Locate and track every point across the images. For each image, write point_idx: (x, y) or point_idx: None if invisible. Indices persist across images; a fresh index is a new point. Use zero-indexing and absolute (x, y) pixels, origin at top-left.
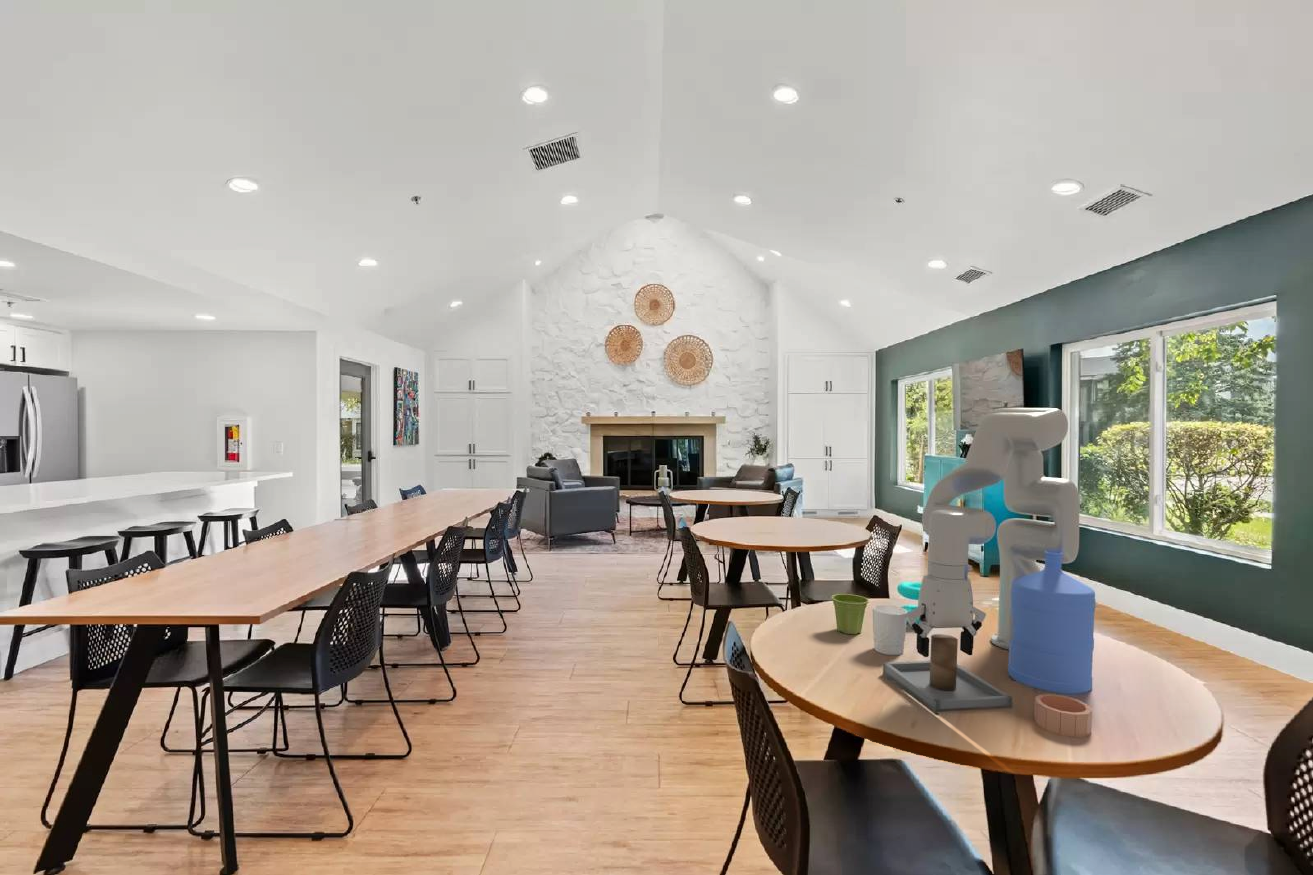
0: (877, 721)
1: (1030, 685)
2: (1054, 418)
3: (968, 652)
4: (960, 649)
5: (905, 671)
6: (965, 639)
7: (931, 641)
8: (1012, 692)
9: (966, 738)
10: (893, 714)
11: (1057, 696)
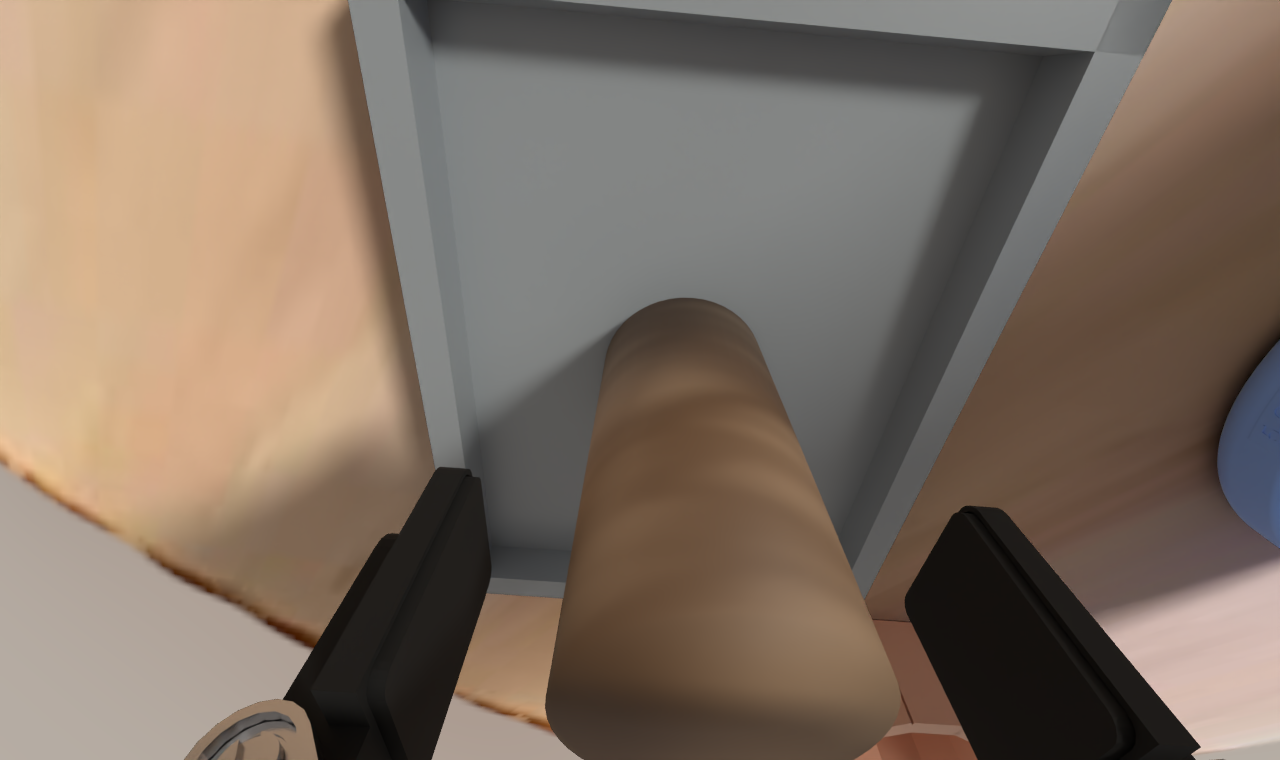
0: (203, 539)
1: (1226, 444)
2: None
3: (916, 618)
4: (961, 517)
5: (580, 41)
6: (1011, 716)
7: (563, 619)
8: (1058, 438)
9: (494, 657)
10: (288, 508)
11: (965, 739)
